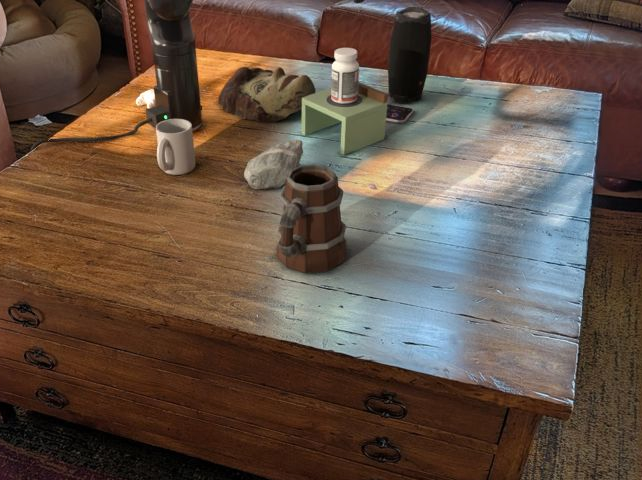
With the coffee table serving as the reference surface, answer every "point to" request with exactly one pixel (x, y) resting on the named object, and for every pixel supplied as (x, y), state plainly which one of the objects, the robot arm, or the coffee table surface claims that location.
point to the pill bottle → (345, 76)
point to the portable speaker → (409, 54)
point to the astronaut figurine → (147, 99)
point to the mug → (311, 220)
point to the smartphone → (398, 113)
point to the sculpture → (264, 94)
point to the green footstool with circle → (348, 116)
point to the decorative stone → (273, 165)
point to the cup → (175, 146)
